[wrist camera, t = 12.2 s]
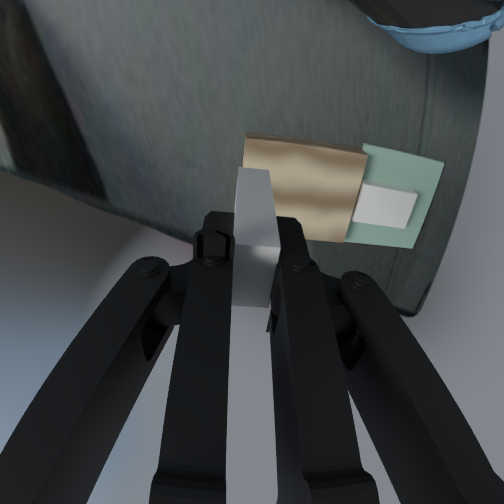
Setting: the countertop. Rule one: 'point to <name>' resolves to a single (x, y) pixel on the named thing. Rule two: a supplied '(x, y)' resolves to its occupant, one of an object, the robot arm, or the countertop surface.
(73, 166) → the countertop surface
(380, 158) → the mat
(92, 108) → the countertop surface
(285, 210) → the wooden board
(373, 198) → the white rectangular block
